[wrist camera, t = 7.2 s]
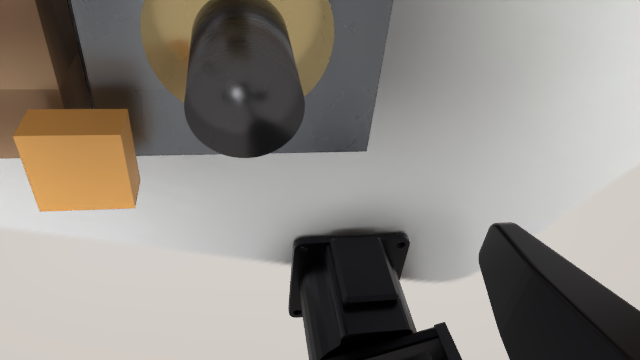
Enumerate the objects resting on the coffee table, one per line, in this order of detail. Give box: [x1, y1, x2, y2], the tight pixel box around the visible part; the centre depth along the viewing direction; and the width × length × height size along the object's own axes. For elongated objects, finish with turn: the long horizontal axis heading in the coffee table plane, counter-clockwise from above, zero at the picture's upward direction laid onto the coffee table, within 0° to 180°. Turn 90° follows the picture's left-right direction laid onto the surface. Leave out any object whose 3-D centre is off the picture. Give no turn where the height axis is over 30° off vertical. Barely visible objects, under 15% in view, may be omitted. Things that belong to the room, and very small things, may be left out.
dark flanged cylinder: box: [140, 0, 334, 158], centre depth 16 cm, size 6×6×8 cm
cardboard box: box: [13, 109, 140, 211], centre depth 16 cm, size 3×3×2 cm
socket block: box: [71, 0, 393, 156], centre depth 18 cm, size 10×10×3 cm
